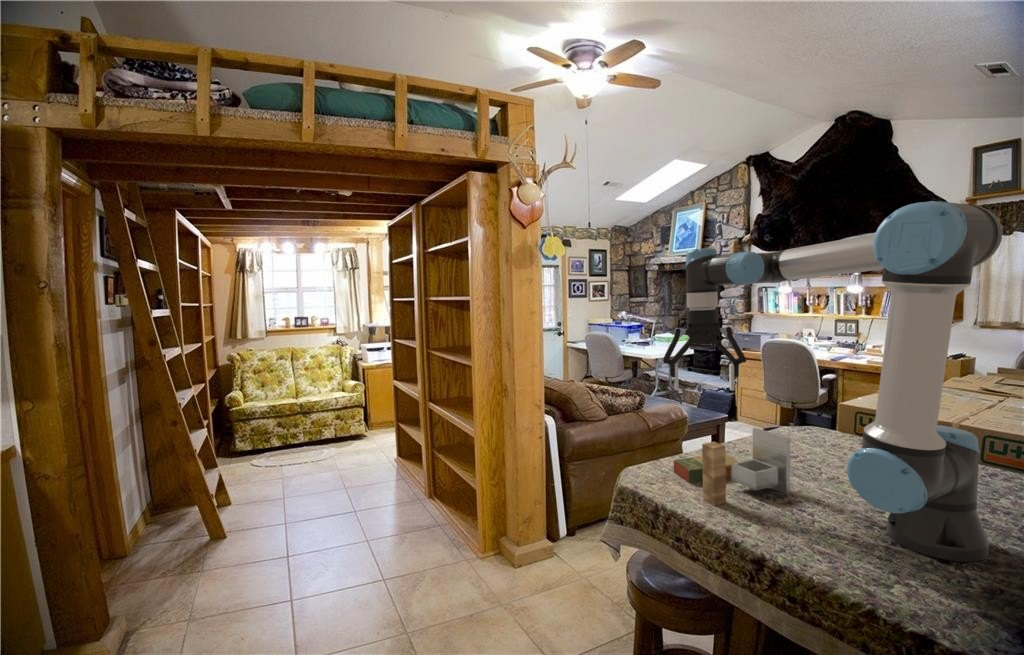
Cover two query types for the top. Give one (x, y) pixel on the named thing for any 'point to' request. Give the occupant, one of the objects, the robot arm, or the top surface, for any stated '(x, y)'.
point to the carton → (698, 468)
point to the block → (714, 473)
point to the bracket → (765, 463)
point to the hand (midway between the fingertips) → (703, 389)
